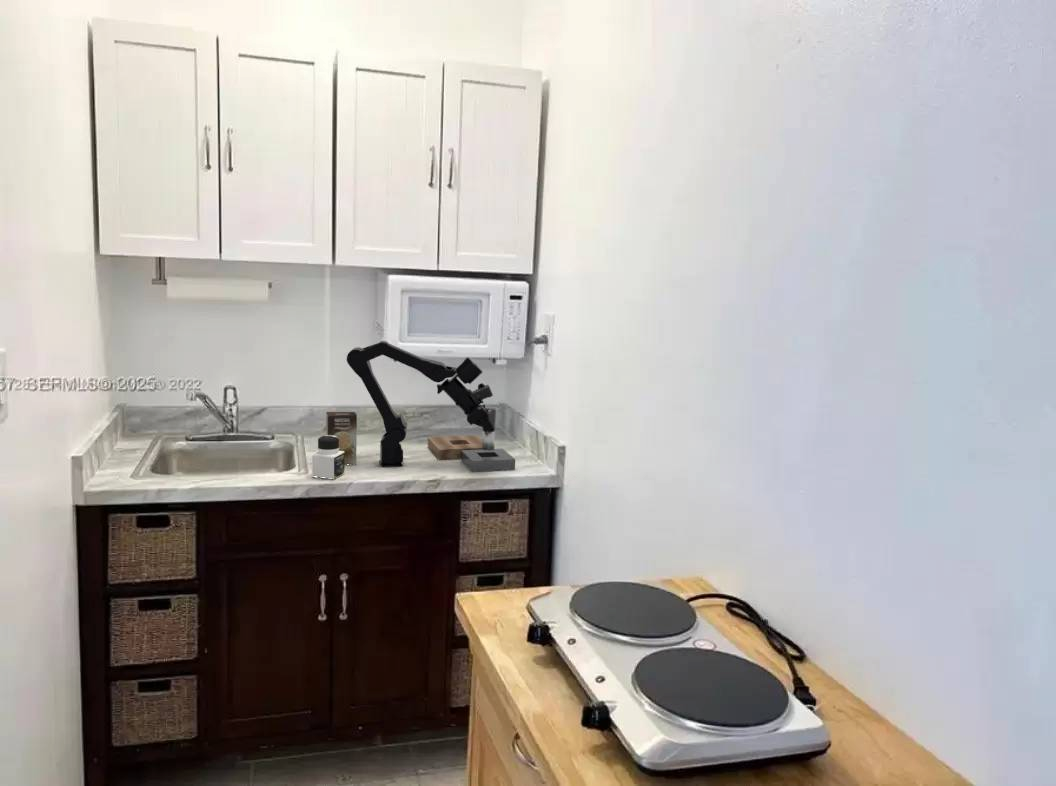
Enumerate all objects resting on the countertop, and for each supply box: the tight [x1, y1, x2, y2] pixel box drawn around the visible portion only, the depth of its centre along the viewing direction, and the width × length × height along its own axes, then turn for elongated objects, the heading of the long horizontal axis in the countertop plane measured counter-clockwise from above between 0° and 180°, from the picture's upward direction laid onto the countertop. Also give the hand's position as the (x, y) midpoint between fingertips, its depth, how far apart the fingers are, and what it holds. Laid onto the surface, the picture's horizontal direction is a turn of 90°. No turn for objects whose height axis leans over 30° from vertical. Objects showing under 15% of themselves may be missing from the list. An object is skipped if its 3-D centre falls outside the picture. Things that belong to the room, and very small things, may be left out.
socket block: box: [460, 448, 516, 473], centre depth 256 cm, size 14×14×4 cm
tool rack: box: [427, 434, 482, 461], centre depth 271 cm, size 18×18×4 cm
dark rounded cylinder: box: [481, 407, 497, 450], centre depth 254 cm, size 4×4×13 cm
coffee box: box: [325, 411, 358, 466], centre depth 251 cm, size 9×6×16 cm
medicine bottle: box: [311, 435, 346, 480], centre depth 236 cm, size 7×7×12 cm
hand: (493, 428), depth 254 cm, fingers closed on dark rounded cylinder, 4 cm apart
